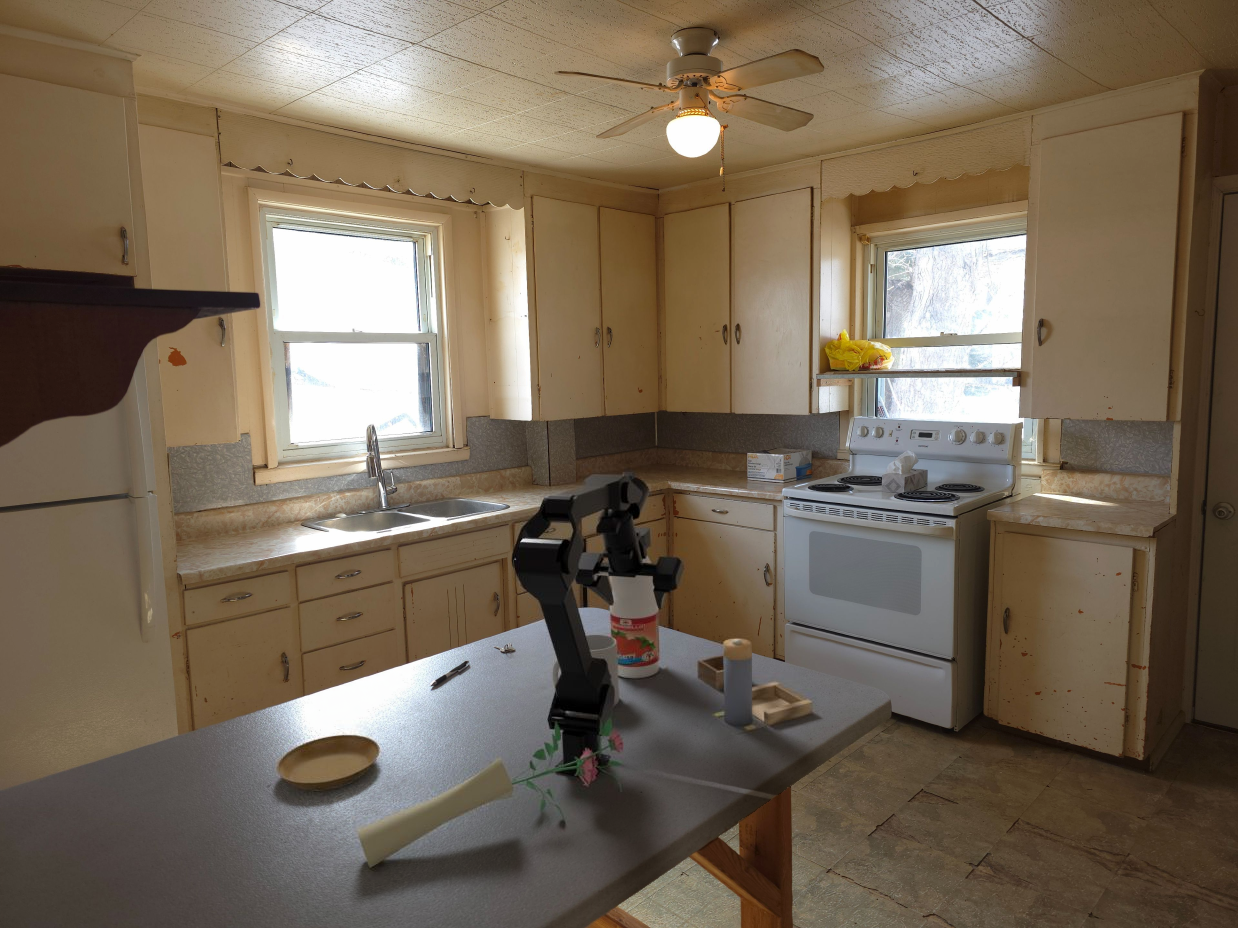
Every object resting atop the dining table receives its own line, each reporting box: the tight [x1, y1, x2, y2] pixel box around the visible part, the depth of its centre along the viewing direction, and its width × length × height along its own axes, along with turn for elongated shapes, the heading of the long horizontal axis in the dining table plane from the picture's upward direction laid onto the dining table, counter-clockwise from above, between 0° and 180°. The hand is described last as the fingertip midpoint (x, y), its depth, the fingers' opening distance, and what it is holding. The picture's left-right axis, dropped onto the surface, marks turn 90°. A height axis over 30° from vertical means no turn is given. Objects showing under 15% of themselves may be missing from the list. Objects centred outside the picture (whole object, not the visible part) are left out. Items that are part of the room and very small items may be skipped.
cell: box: [722, 638, 753, 726], centre depth 132 cm, size 5×5×14 cm
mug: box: [552, 634, 620, 707], centre depth 142 cm, size 12×8×11 cm
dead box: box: [697, 654, 724, 692], centre depth 149 cm, size 7×7×4 cm
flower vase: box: [356, 717, 624, 869], centre depth 105 cm, size 12×12×35 cm
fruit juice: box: [608, 554, 661, 679], centre depth 156 cm, size 9×9×28 cm
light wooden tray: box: [752, 681, 813, 727], centre depth 137 cm, size 9×10×3 cm
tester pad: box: [710, 710, 768, 735], centre depth 133 cm, size 6×8×1 cm
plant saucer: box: [276, 734, 381, 792], centre depth 122 cm, size 15×15×3 cm
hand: (636, 605), depth 143 cm, fingers open, 9 cm apart
